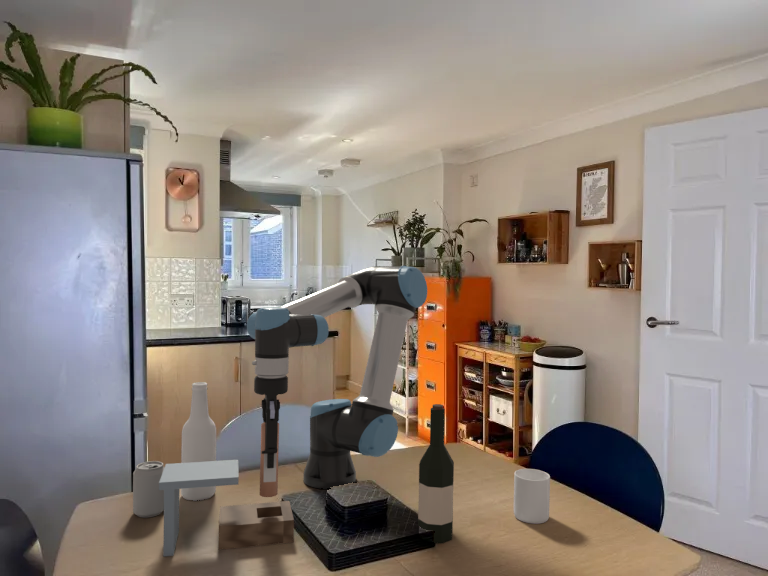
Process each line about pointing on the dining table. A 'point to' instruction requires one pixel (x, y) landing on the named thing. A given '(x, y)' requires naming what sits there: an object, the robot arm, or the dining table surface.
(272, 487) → the peg
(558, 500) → the dining table surface
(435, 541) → the wine bottle
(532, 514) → the mug
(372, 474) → the dining table surface
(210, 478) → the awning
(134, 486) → the can
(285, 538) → the socket
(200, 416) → the alcohol
